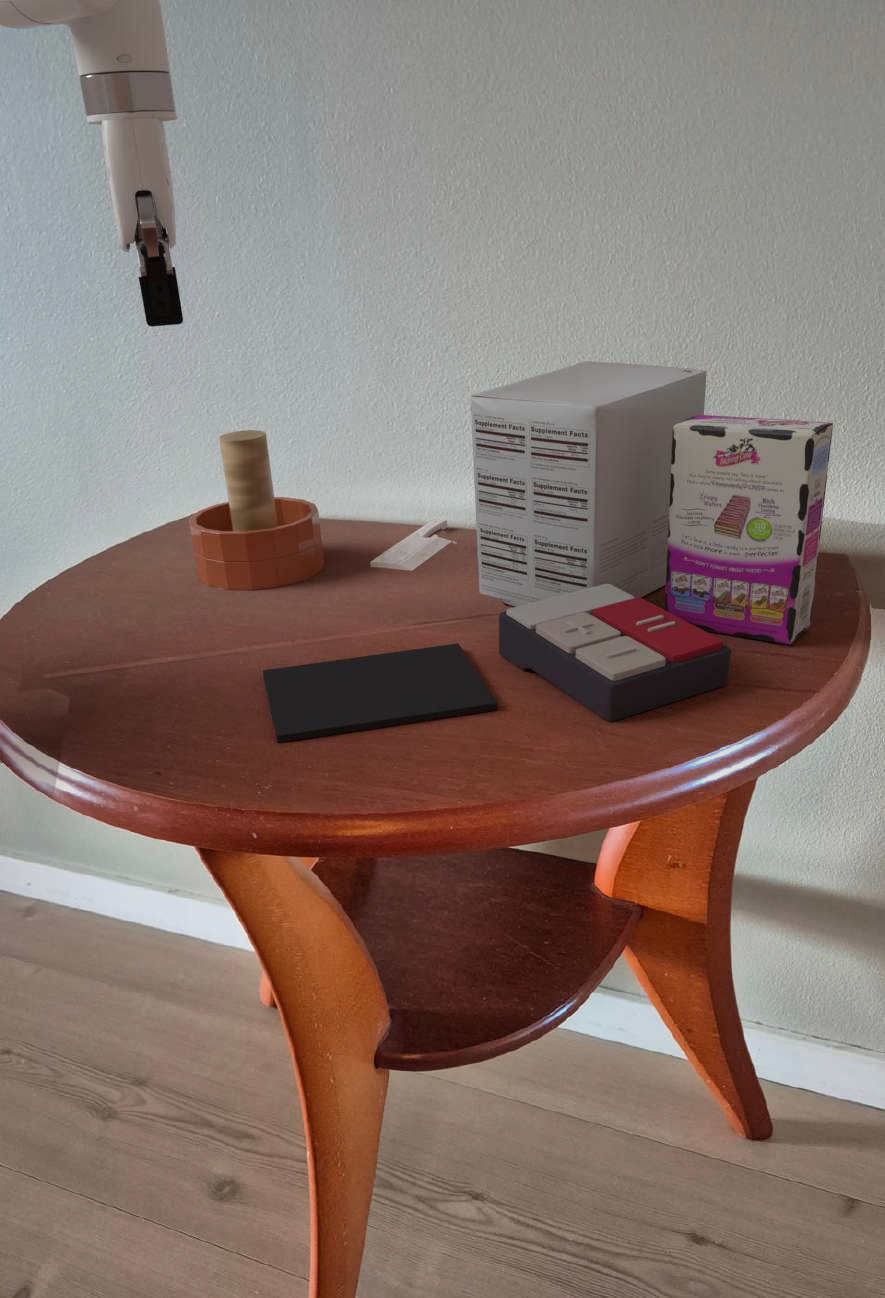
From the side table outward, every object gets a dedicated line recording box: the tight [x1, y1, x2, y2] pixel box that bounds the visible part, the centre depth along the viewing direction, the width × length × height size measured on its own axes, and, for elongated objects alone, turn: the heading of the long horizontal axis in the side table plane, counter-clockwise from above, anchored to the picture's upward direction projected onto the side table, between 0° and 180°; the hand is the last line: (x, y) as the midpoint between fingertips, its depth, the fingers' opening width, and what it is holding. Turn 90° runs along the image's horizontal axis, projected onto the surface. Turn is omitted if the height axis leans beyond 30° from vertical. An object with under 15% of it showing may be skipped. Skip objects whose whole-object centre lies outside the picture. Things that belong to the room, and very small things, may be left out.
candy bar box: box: [663, 414, 834, 646], centre depth 86 cm, size 11×5×16 cm, turn 55°
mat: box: [262, 643, 499, 744], centre depth 83 cm, size 16×12×1 cm
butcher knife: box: [369, 518, 458, 572], centre depth 112 cm, size 5×15×1 cm, turn 155°
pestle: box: [218, 429, 278, 531], centre depth 105 cm, size 4×4×13 cm
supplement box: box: [470, 360, 707, 607], centre depth 97 cm, size 17×13×18 cm
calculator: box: [498, 584, 732, 722], centre depth 83 cm, size 11×4×15 cm
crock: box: [188, 496, 325, 592], centre depth 107 cm, size 12×12×6 cm
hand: (165, 319), depth 101 cm, fingers open, 9 cm apart
